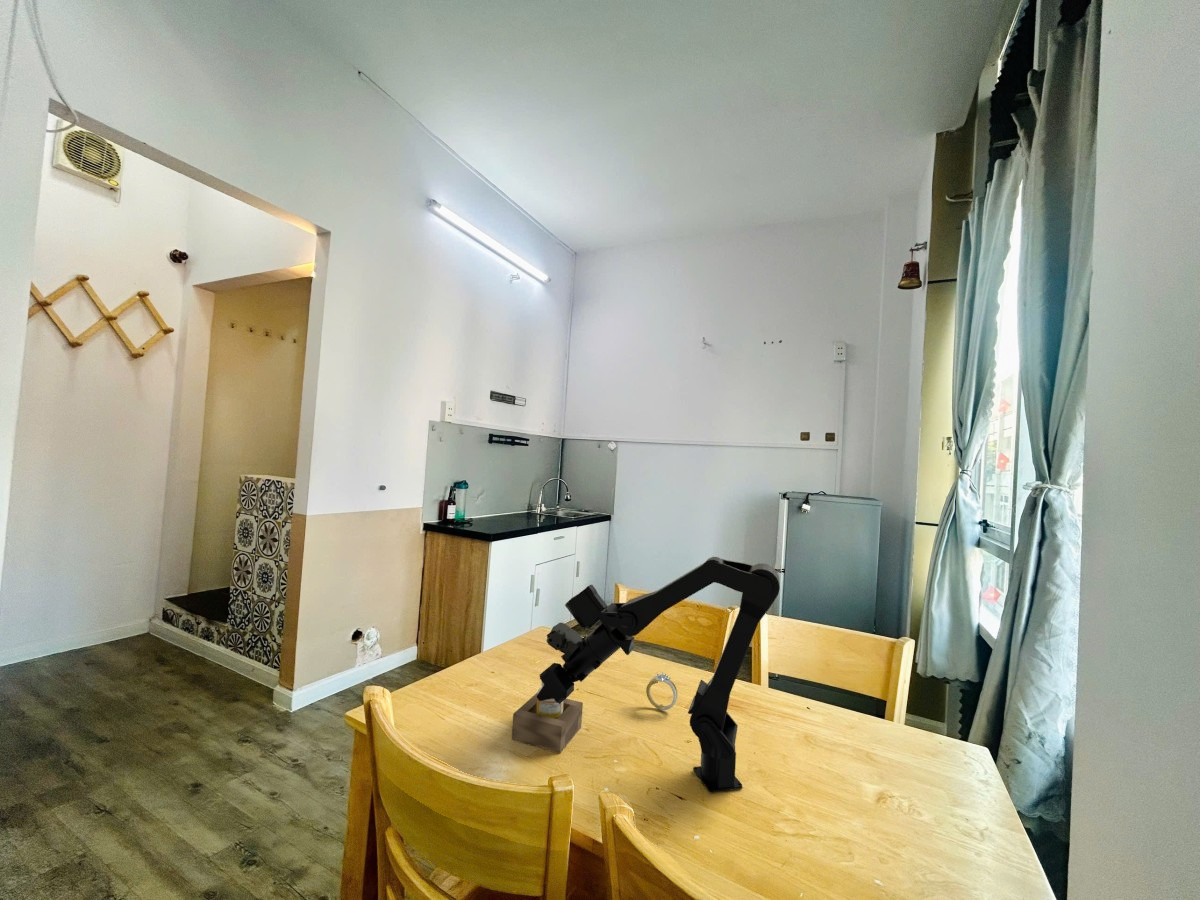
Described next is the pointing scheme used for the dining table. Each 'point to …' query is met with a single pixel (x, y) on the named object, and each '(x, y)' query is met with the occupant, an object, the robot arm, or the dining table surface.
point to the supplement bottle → (549, 707)
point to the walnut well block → (547, 725)
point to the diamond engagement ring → (665, 679)
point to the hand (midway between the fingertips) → (544, 692)
